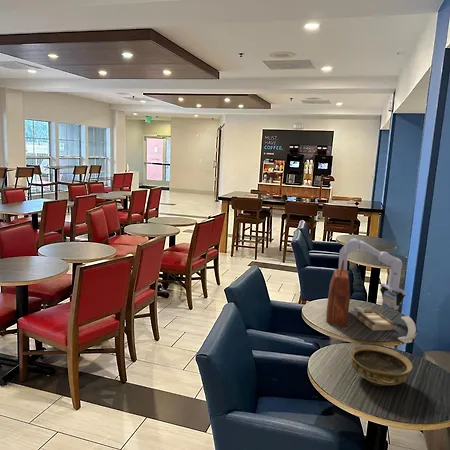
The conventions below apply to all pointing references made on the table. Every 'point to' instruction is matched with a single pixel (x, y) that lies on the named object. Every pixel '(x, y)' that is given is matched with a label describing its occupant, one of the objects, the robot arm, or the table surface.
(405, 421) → the table surface
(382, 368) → the ceramic bowl
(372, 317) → the sweep station
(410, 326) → the headphone stand
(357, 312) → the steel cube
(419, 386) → the table surface
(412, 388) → the table surface
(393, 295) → the medicine box
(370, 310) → the bronze cube
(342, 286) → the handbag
